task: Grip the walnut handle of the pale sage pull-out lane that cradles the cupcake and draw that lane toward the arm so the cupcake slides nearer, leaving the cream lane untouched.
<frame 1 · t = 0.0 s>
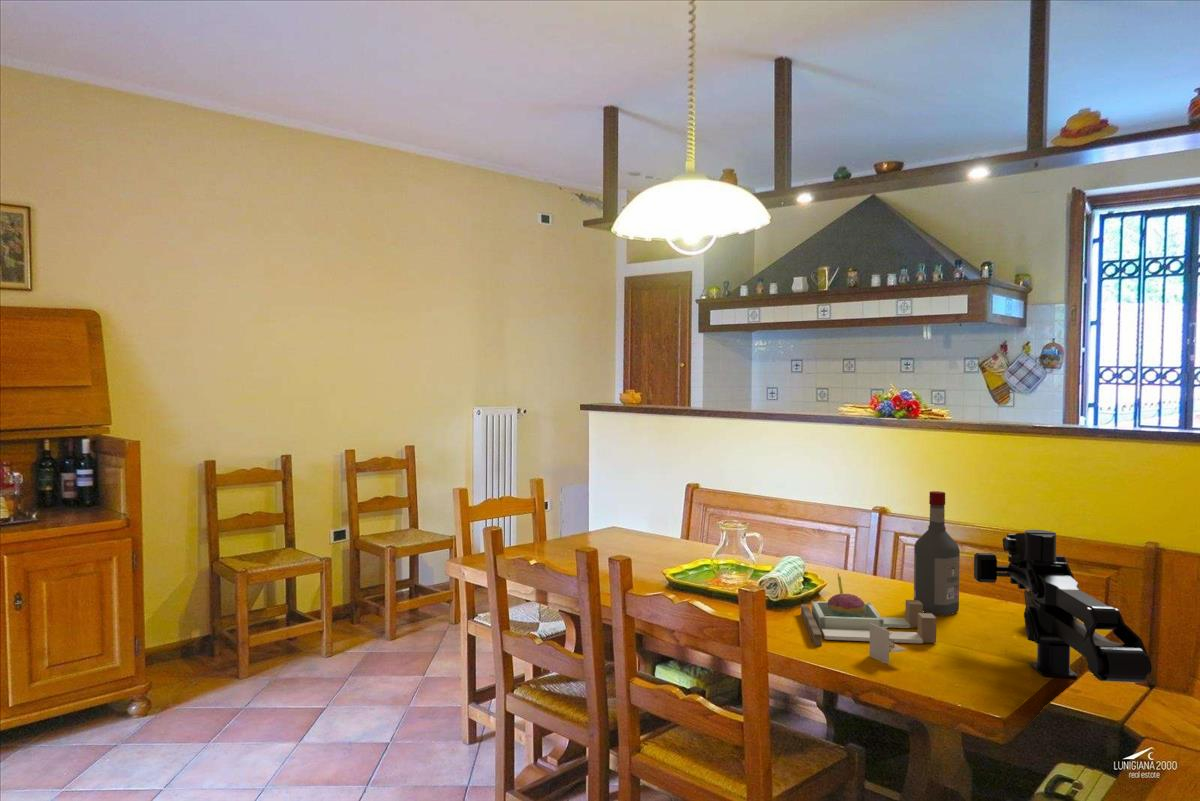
hand: (1005, 560, 181), 17 cm above the table, tool horizontal, fingers open, 9 cm apart
cupcake: (846, 624, 186), resting in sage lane
walnut back rail: (810, 628, 182), on the table
liquor: (935, 611, 197), on the table
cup: (1041, 626, 184), on the table
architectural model: (882, 662, 163), on the table
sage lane: (867, 611, 186), point 3 cm above the table, slide at 0.0 cm
cream lane: (878, 625, 175), point 3 cm above the table, slide at 0.0 cm
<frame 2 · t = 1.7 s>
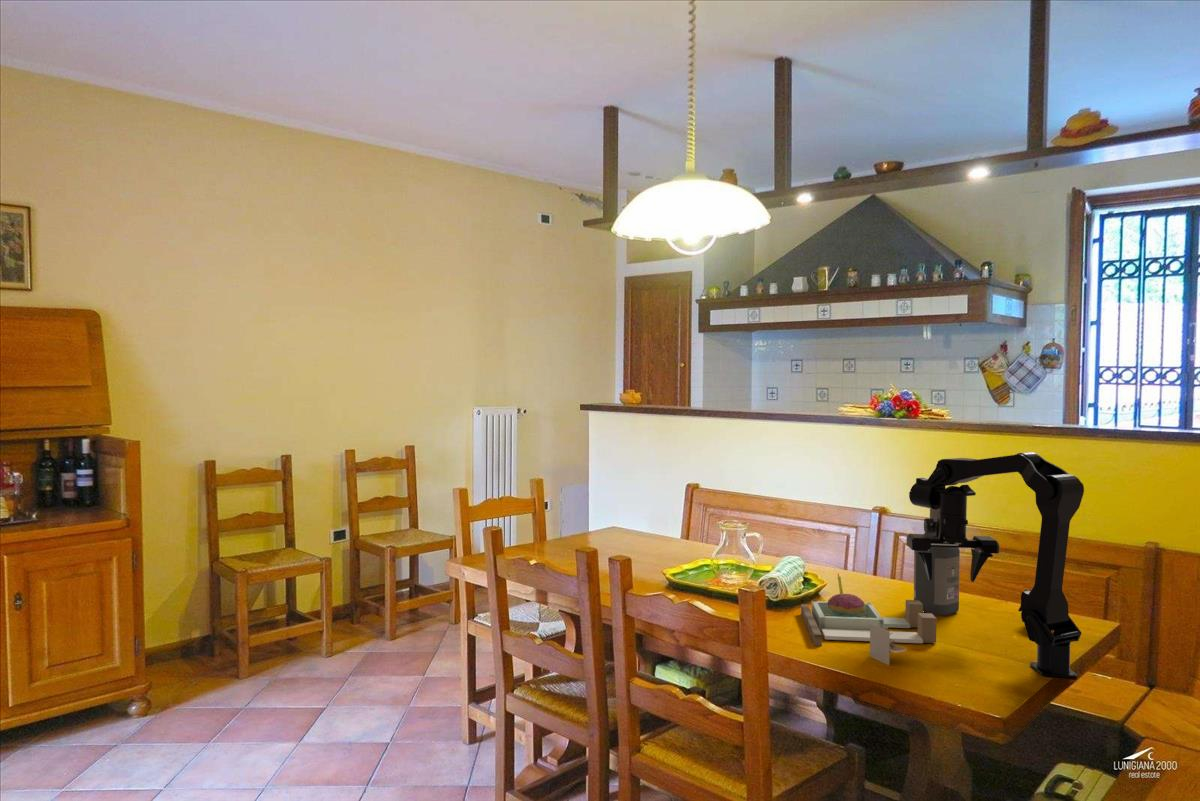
hand: (951, 580, 178), 12 cm above the table, tool pointing down, fingers open, 9 cm apart
nothing on the table moved.
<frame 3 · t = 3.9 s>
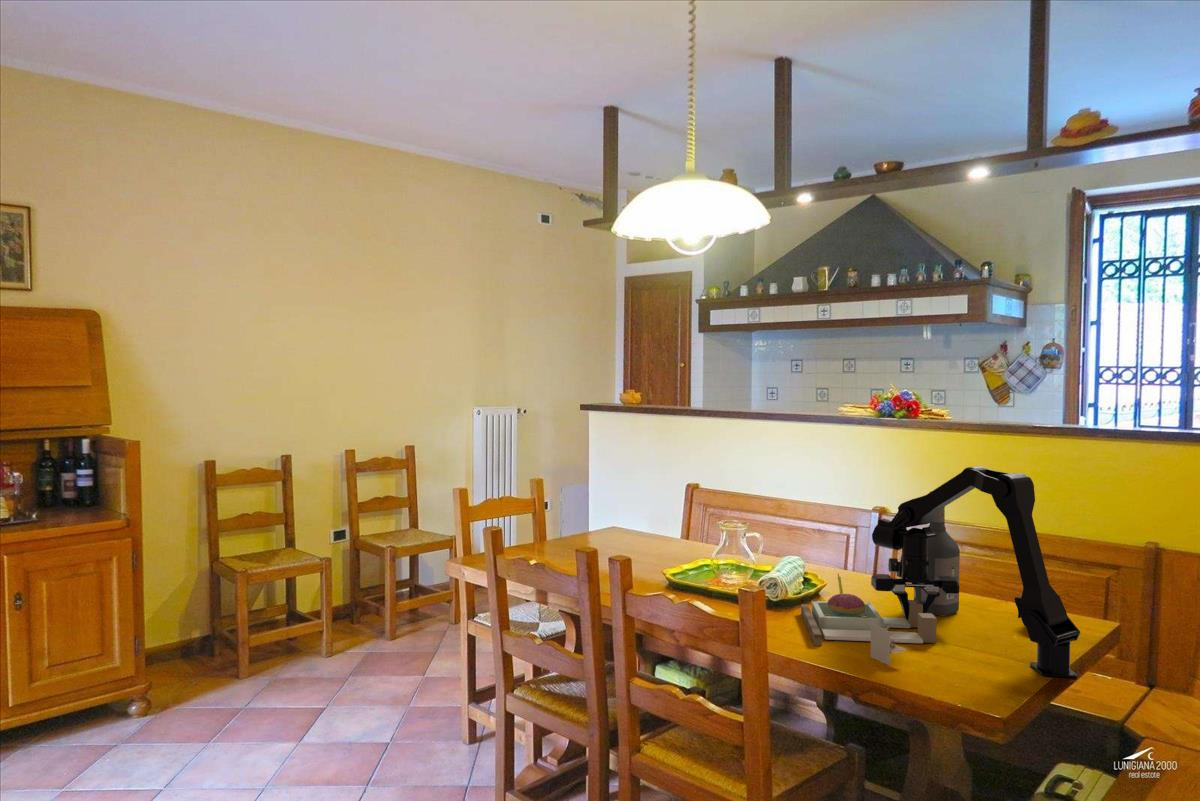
hand: (914, 619, 184), 2 cm above the table, tool pointing down, fingers closed on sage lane, 3 cm apart
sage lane: (867, 611, 186), point 3 cm above the table, slide at 0.0 cm, touching gripper
everything else where it was.
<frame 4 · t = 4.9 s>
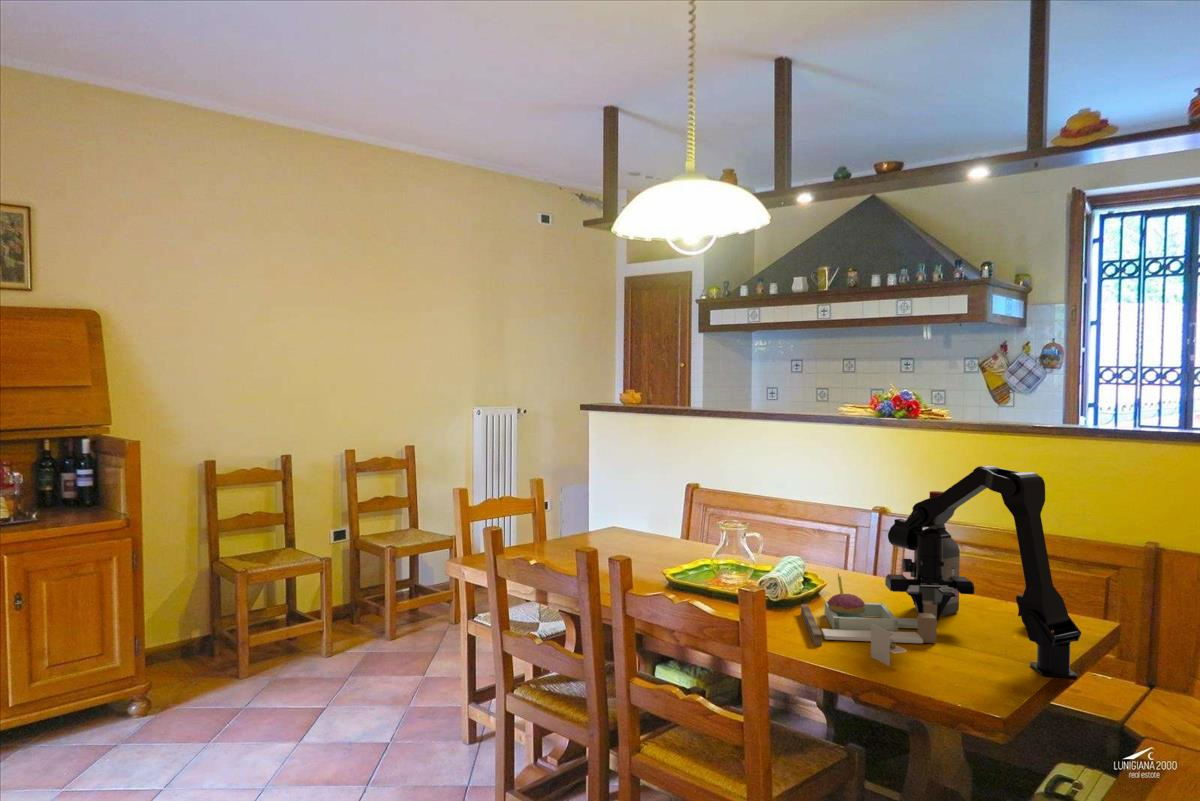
hand: (928, 620, 184), 2 cm above the table, tool pointing down, fingers closed on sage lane, 3 cm apart
cupcake: (846, 624, 186), resting in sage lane
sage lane: (881, 612, 185), point 3 cm above the table, slide at 3.2 cm, touching cupcake, gripper
everything else where it was.
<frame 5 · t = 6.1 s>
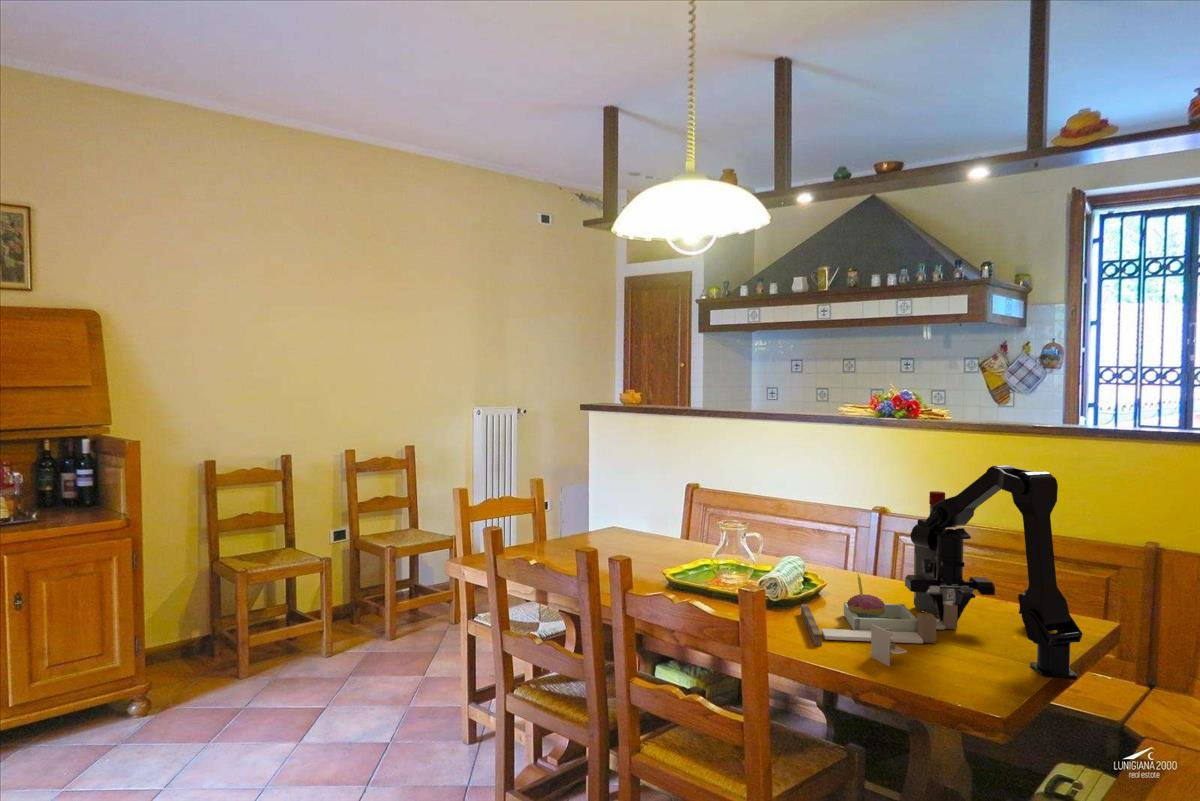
hand: (948, 620, 183), 2 cm above the table, tool pointing down, fingers closed on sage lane, 3 cm apart
cupcake: (866, 625, 186), resting in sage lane
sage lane: (901, 613, 185), point 3 cm above the table, slide at 7.8 cm, touching cupcake, gripper
everything else where it was.
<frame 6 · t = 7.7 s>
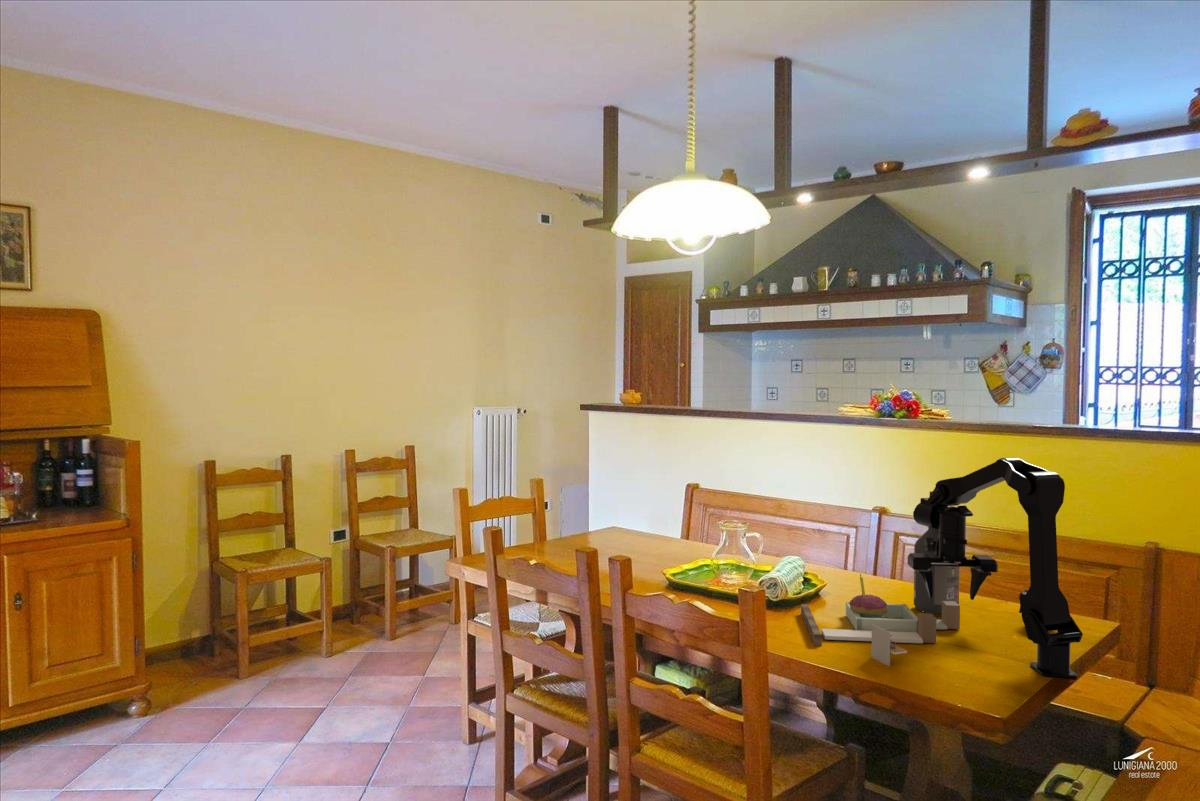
hand: (951, 598, 183), 7 cm above the table, tool pointing down, fingers open, 9 cm apart
cupcake: (868, 625, 185), resting in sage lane
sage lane: (903, 613, 184), point 3 cm above the table, slide at 8.3 cm
everything else where it was.
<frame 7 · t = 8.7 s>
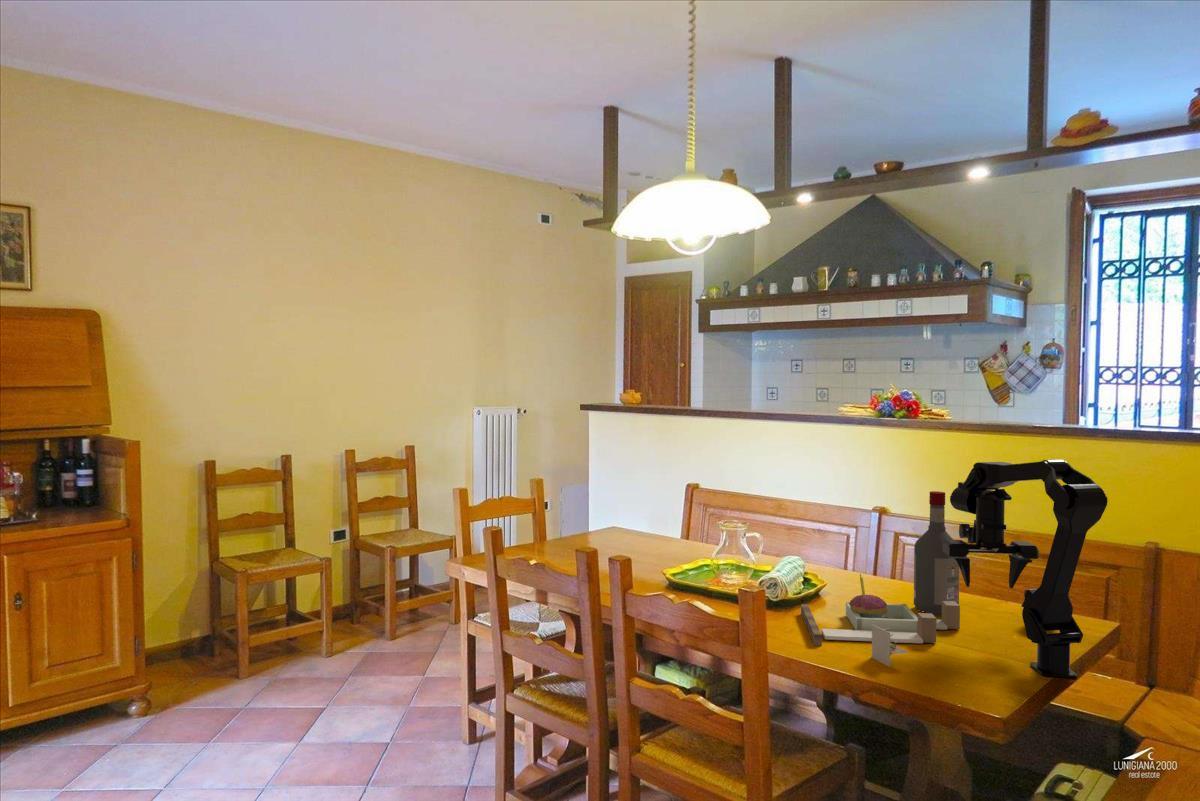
hand: (989, 587, 174), 12 cm above the table, tool pointing down, fingers open, 9 cm apart
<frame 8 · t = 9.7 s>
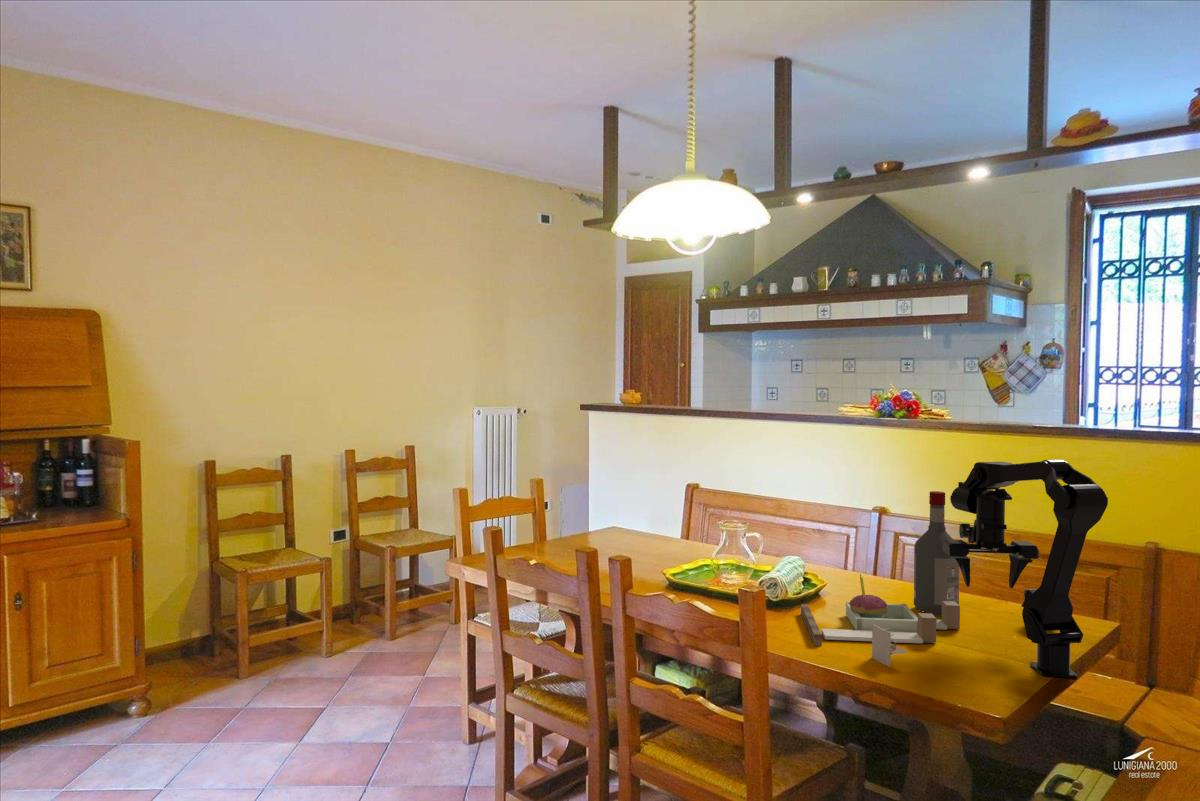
hand: (989, 587, 174), 12 cm above the table, tool pointing down, fingers open, 9 cm apart
at the end: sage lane slide at 8.3 cm; cupcake inside the target area (3.4 cm from its centre), resting in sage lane; cream lane slide at 0.0 cm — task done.
